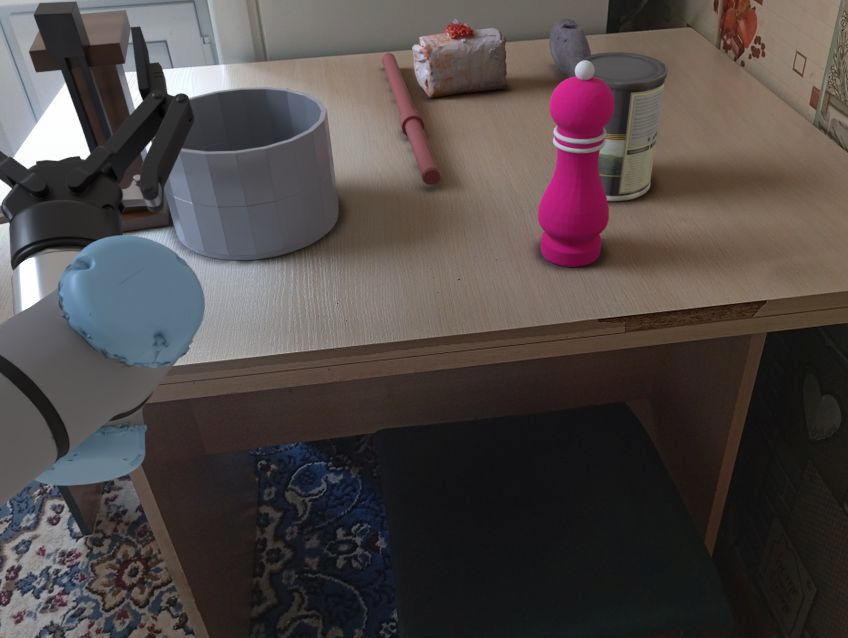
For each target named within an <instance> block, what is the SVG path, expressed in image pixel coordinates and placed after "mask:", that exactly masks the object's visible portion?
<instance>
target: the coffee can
mask: <svg viewBox="0 0 848 638" xmlns="http://www.w3.org/2000/svg"><path fill="white" fill-rule="evenodd" d="M584 60H587V61H590V62H591V63H592V64H593V66H594V69H595V70H594V75H593V77H595V78H598V79H600V80H602V81H604V82H605V83H606V84H607V85H608V86H609V88H610V89H611V91H612V93H613V97H614V113H613V116H612V118H611V120H610V121H609V122H608V124H606V125H605V126H604V128H605V130H606V136H605V145H604V147H603V148H602V149H600V153H599V165H598V169H599V175H600V179H601V182H602V185H603V188H604V191H605V194H606V197H607V202H625V201H629V200H630V201H631V200H634V199H637V198H640V197H641V196H643V195H645V194H647V192H648V191H649V190H650V188H651V180H652V173H653V164H654V157H655V152H656V144H657V137H658V131H659V123H660V118H661V110H662V103H663V96H664V91H665V83H666V79H667V76H668V72H669V70H668V69H669V68H668V67H667V65H666V64H665V63H664V62H663V61H660V60H659V59H657V58H654V57H651V56H648V55H644V54H639V53H633V52H621V51H620V52H618V51H617V52H616V51H615V52H614V51H613V52H612V51H611V52H600V53H594V54H591V55H590V56H586V57H584V58H581V59H580V60H578V61H577V62H576V63H575V65H574V74H575V68H576V66H577V64H578V63H579V62H581V61H584ZM575 76H576V75H575Z"/></svg>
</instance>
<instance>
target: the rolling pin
mask: <svg viewBox="0 0 848 638" xmlns="http://www.w3.org/2000/svg"><path fill="white" fill-rule="evenodd" d="M381 63H382V66H383V69H384V71H385V74H386V77H387V80H388V83H389V86H390V89H391V92H392V95H393V98H394V100H395V103H396V106H397V109H398V112H399V115H400V118H399V125H400V129H401V131H402V133H403V135H404V136H405V137H407V138H408V141H409V144H410V147H411V150H412V153H413V155H414V159H415V161H416V164H417V168H418V170H419V173H420V176H421V179H422V181H423V183H424V184H426V185H429V186H433V185H435V184H437V183H439V182H440V179H441V171H440V168H439V166H438V164H437V161H436V159H435V156H434V154H433V151H432V149H431V145H430V143H429V141H428V138H427V136H426V133H425V129H426V128H425V127H426V125H425V122H424V119H423V117H422V114H421V113H420V112H419V111H418V110H416V108H415V104H414V102H413V100H412V98H411V94H410V92H409V90H408V87H407V84H406V81H405V78H404V76H403V75H402V72H401V70H400V66H399V64H398V61H397V58H396V56H395V55H394V54H393V53H391V52H386V53H384V54H383V55H382V57H381Z"/></svg>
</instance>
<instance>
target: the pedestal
mask: <svg viewBox="0 0 848 638" xmlns="http://www.w3.org/2000/svg"><path fill="white" fill-rule="evenodd" d="M80 14H81V17H82V20H83V23H84V26H85V29H86V32H87V35H88V39H89V42H90V46H89V49H88V52H87V56H88V59H89V62H90V65H91V68H92V71H93V74H94V77H95V80H96V83H97V86H98V89H99V92H100V95H101V98H102V101H103V104H104V108H105V111H106V114H107V117H108V120H109V123H110V126H111V129H112V132H113V134H114V133H115V132H116V131H117V130H118V128H119V127H120V126H121V125H122V124H123V123H124V122H125V121H126V119H127V118H128V117H129V116H130V115H131V114H132V113H133V111H134V110H135V109H136V108H135V104H134V102H133V101H134V100H133V97H132V94H131V91H130V87H129V82H128V80H127V76H126V75H127V74H126V73H125V68H124V66H123V65H125V64H126V61H127V54H128V48H129V42H130V36H131V24H130V20H129V18H128V17H129V15H128V13H127V10H125V9H123V10H110V11H100V12H99V11H98V12H89V13H88V12H87V13H80ZM28 54H29V57H30V59H31V63H32V65H33V68H34V71H35V73H37V74H38V73H47V72H56V71H61V69H60V66H59V63H58V60H57V58H49V56H48V53H47V51H46V48H45V45H44V43H43V40H42V37H41V34H40V32H39V30H38V31H37V33H36V36H35V38H34V40H33V42H32V44H31V45H30V48H29V50H28ZM68 61H69V63H70V66H71V69H72V72H73V75H74V78H75V81H76V83H77V86H78V89H79V92H80V95H81V98H82V100H83V103H84V106H85V109H86V112H87V115H88V118H89V120H90V123H91V126H92V129H93V132H94V135H95V137H96V140H97V143H98V146H103V145H104V144H105V143H106V140H105V137H104V134H103V131H102V128H101V125H100V123H99V120H98V117H97V114H96V111H95V108H94V105H93V102H92V99H91V96H90V93H89V90H88V87H87V85H86V82H85V79H84V76H83V73H82V70H81V67H80V64H79V61H78V58H77V57H68ZM82 134H83V136H84V139H85V142H86V145H87V148H88V152H89V155H90V154H91V152H90V149H89V146H88V143H87V141H86V138H85V135H84V132H83V131H82ZM147 153H148V151H147V146H146V147H145V148H144V150H143V151H142V152H141V153H140V154H139V156H138V157H137V158H136V159H135V160H134V161H133V163H132V164H131V165H130V166H129V167H128V168H127V170H126V171H125V173H124V178H123V180H122V181H121V182H120V184H119V186H120V187H121V189H126V188H128V187H129V186H130V185H131V183H132V181H133V177H134V176H135V175H140V172H141V167H142V164H143V161H144V159H145V157H146V155H147ZM101 171H103V172H104V170H103V169H102V170H101ZM121 221H122V231H123V233H124V232H132V231H139V230H145V229H153V228H160V227H166V226H170V208H169V205H168V201H167V198H166V194H165V190H164V207H163V209H162V210H161V211H159V212H152V211H150V210H149V209H148V207H147V206H128V207H126V208H125V210H124V211H123V214H122V218H121Z"/></svg>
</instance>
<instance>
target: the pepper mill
mask: <svg viewBox="0 0 848 638" xmlns="http://www.w3.org/2000/svg"><path fill="white" fill-rule="evenodd" d="M594 70H595V69H594V66H593V64H592V63H591V62H590V61H587V60H584V61H581V62H579V63H578V64H577V66H576V68H575V75H576V76H574V77H570V78H566V79H564V80H562V81H561V82H560V83H559V84H558V85H557V86H556V87H554V90H553V92H552V94H551V96H550V101H549V114H550V117H551V119H552V121H553V122H554V123H555V125H556V126H555V127H554V128H553V138H552V143H553V145H554V146H555V147H556V162H555V168H554V171H553V174H552V177H551V179H550V181H549V183H548V185H547V187H546V188H545V190H544V192H543V194H542V197H541V199H540V202H539V205H538V212H537V220H538V224H539V226H540V228H541V229H542V231H543V232H542V234H541V238H540V239H541V242H540V253H541V255H542V256H543V258H545V260H547V261H548V262H550V263H552V264H555V265H557V266H562V267H566V268H568V267H569V268H570V267H571V268H576V267H577V268H578V267H584V266H587V265H588V266H589V265H590V264H592V263H594V262H596V261H597V259H598V258H599V257H600V255H601V248H602V237H601V234H602V233H603V232H604V231H605V230H606V228H607V226H608V224H609V217H610V208H609V201H607V197H606V194H605V191H604V188H603V185H602V182H601V179H600V175H599V169H598V165H599V153H600V149H602V148H603V147H604V145H605V136H606V130H605V128H604V126H605V125H606V124H608V122H609V121H610V120H611V118H612V116H613V113H614V97H613V93H612V91H611V89H610V88H609V86H608V85H607V84H606V83H605V82H604V81H602V80H600V79H598V78H595V77H593V75H594Z"/></svg>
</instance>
